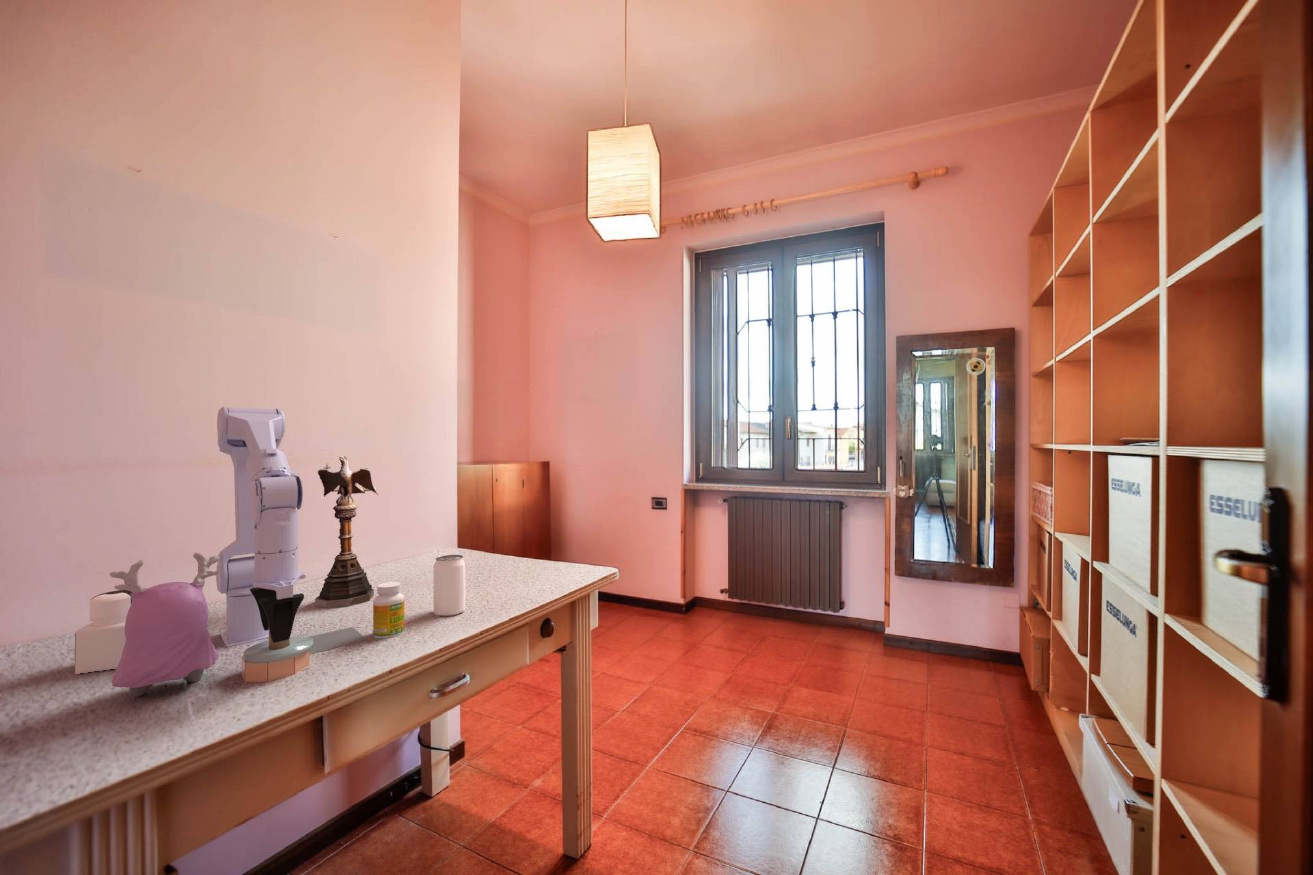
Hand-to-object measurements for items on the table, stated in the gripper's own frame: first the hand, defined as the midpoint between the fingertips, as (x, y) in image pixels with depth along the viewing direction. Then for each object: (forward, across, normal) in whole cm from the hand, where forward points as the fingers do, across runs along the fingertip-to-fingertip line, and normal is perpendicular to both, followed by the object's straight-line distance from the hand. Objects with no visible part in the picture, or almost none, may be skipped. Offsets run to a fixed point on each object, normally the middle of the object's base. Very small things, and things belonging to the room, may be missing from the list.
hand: (276, 634), depth 84 cm
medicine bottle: (+6, +24, +18) cm, 31 cm away
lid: (+3, 0, 0) cm, 3 cm away
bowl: (+6, 0, 0) cm, 6 cm away
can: (+6, +10, -32) cm, 34 cm away
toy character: (+6, +5, +13) cm, 15 cm away
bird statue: (+6, +40, -20) cm, 44 cm away
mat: (+6, +8, -10) cm, 14 cm away
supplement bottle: (+6, +4, -18) cm, 20 cm away
